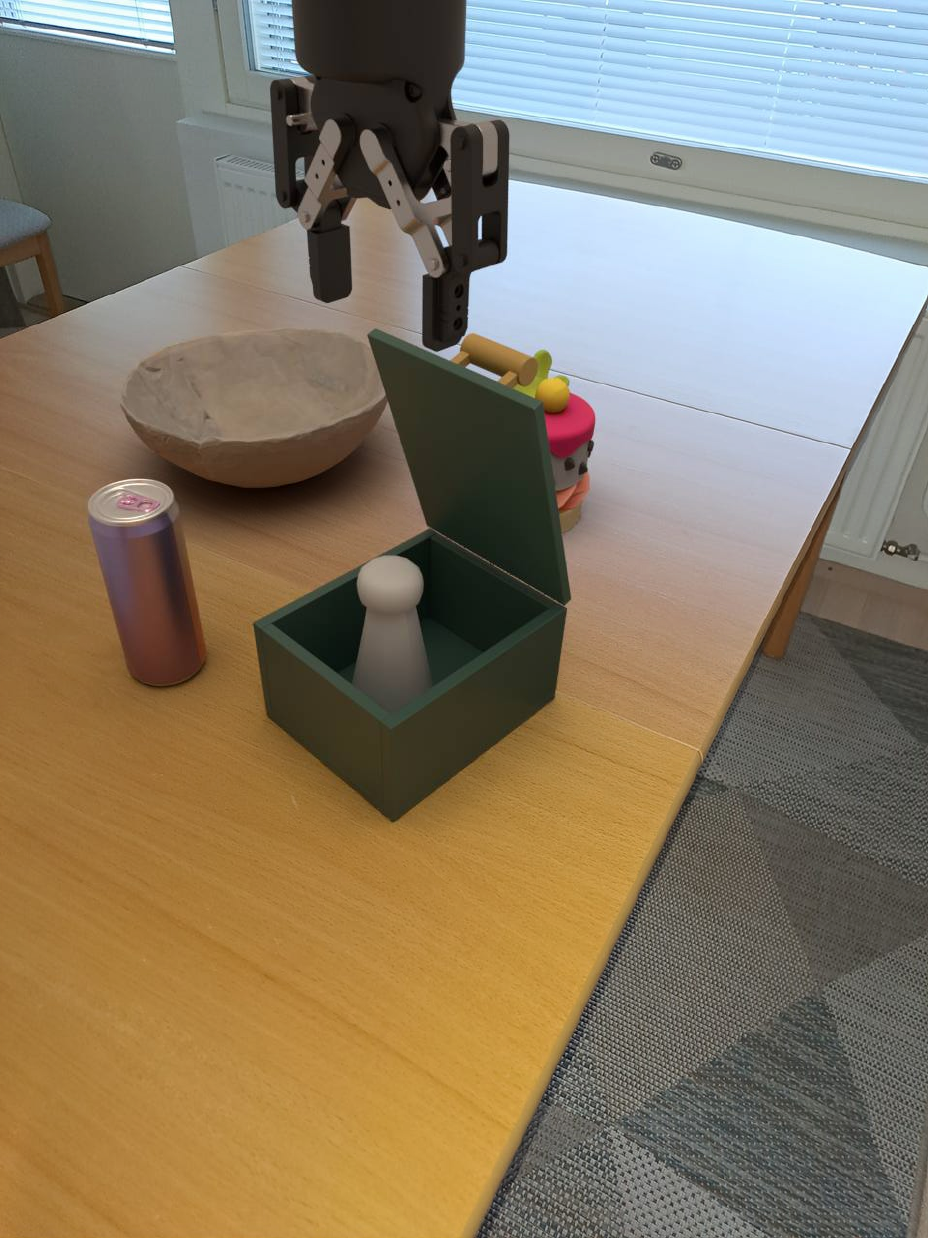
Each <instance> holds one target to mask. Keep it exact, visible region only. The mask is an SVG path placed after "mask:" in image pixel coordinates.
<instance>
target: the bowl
mask: <svg viewBox="0 0 928 1238" xmlns="http://www.w3.org/2000/svg"><path fill="white" fill-rule="evenodd" d="M118 402H119V405H120V408H121V410H122V412H123V414H124V415H125V419H126V420H127V423H129V425H130V427H131V428H132V430H133V431H134V433H135V434H136V435H137V437H138V438H139V439H140V440H141V442H142V443H144V444H145V445H146V446H147V447H149V449H151V450H152V451H154V452H155V453H156V454H158V455H159V456H160V457H161V458H163V459H165V460H166V461H168V462H170V463H172V464H173V465H175V466H177V467H179V468H181V469H183V470H186V471H188V472H190V473H192V474H194V475H196V476H198V477H201V478H203V479H205V480H208V481H213V482H216V483H221V484H224V485H230V486H234V487H239V488H246V489H250V488H251V489H265V488H277V487H281V486H286V485H289V484H295V483H298V482H303V481H305V480H309V479H310V478H313V477H316V476H318V475H320V474H322V473H324V472H326V471H327V470H329V469H331V468H333V467H334V466H336V465H338V464H339V463H340V462H342V461H344V460H345V459H346V458H347V457H348V456H349V455H351V454H352V453H353V452H354V451H355V450H357V448H358V447H359V446H360V445H361V444H362V443H363V442H364V440H365V439H366V438H367V437H368V435H369V434H370V433H371V432H372V431H373V429H374V428H375V427H376V425H377V424H378V422H379V420H380V419H381V417H382V416H383V413H384V411H385V410H386V408H387V406H388V405H387V404H388V400H387V397H386V394H385V390H384V387H383V384H382V381H381V378H380V374H379V371H378V368H377V365H376V362H375V358H374V355H373V352H372V349H371V346H370V343H369V341H366V340H363V339H360V338H358V337H357V336H354V335H351V334H348V333H345V332H342V331H328V330H326V329H324V328H315V327H314V328H311V329H309V330H308V329H307V328H303V327H297V326H285V327H279V328H271V329H269V328H267V329H264V328H263V329H261V328H260V329H247V330H238V331H237V330H236V331H230V332H224V333H217V334H211V335H203V336H199V337H193V338H188V339H185V340H181V341H179V342H176V343H173V344H170V345H167V346H165V347H162V348H160V349H157V350H155V351H153V352H151V353H149V354H148V355H145V356H144V357H142V358H140V359H139V360H138V361H137V362H136V363H135V365H134V369H131V370H130V371H129V372H128V373H126V375H125V377H124V378H123V380H122V381H121V384H120V388H119V393H118Z"/></svg>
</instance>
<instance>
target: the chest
mask: <svg viewBox="0 0 928 1238" xmlns="http://www.w3.org/2000/svg"><path fill="white" fill-rule="evenodd" d="M381 556H399V557H403V558H407V559H408V560H410V561H411V562H412V563H414V564H415V565H416V566H418V567H419V569H420V571H421V574H422V577H423V581H424V587H423V593H422V596H421V599H420V601H419V603H418V604H417V605H416V610H417V614H418V619H419V623H420V628H421V632H422V637H423V642H424V646H425V651H426V655H427V660H428V664H429V669H430V673H431V678H432V683H433V687H432V688H431V689H429V690H428V691H426V692H425V693H423V694H422V695H420V696H419V697H417V698H416V699H414V700H413V701H411V702H410V703H408V704H407V705H405V706H404V707H402V708H401V709H399V710H398V711H396V712H395V713H394V714H392V715H391V714H390V713H389V712H388V711H386V710H385V709H384V708H382V707H381V706H380V705H378V704H377V703H376V702H374V701H373V700H372V699H370V698H369V697H368V696H366V695H365V694H364V693H362V692H361V691H360V690H359V689H357V688H356V687H355V686H353V685H352V682H353V677H354V672H355V667H356V662H357V657H358V652H359V647H360V642H361V637H362V632H363V627H364V622H365V616H366V610H367V607H366V606H364V605H363V604H362V603H361V601H360V597H359V594H358V590H357V579H358V575H359V572H360V570H361V567H363V566H364V565H365V564H367V563H368V562H370V561H371V560H372V559H374V558H378V557H381ZM372 559H369V560H368V561H366V562H364V563H362V564H360V565H359V566H356V567H355V568H353V569H351V570H349V571H347V572H345V573H344V574H341V575H339V576H338V577H336V578H334V579H332V580H330V581H328V582H326V583H325V584H323V585H320V586H319V587H316V588H314V589H313V590H312V591H310V592H308V593H306V594H304V595H302V596H300V597H299V598H296V599H295V600H293V601H291V602H289V603H287V604H286V605H284V606H281V607H280V608H278V609H276V610H274V611H272V612H270V613H268V614H267V615H265V616H263V617H261V618H259V619H258V620H255V621H253V622H252V626H253V632H254V639H255V647H256V652H257V659H258V667H259V674H260V681H261V687H262V693H263V702H264V707H265V715H266V716H267V717H268V718H269V719H271V720H272V721H273V722H274V723H275V724H276V725H278V726H279V727H280V728H281V729H282V730H283V731H284V732H286V733H287V734H288V735H289V736H291V737H292V738H293V739H294V740H295V741H296V742H298V743H299V744H300V745H301V746H302V747H303V748H305V749H306V750H307V751H308V752H309V753H311V754H312V755H313V756H314V757H315V758H316V759H318V760H319V761H320V763H322V764H324V765H325V766H326V767H327V768H328V769H329V770H331V771H332V772H333V774H335V775H337V776H338V777H339V778H340V779H341V780H342V781H343V782H345V783H346V784H347V785H348V786H349V787H351V788H352V789H353V790H354V791H355V792H357V793H358V794H359V795H360V796H361V797H362V798H364V799H365V801H367V802H368V803H370V804H371V805H372V806H373V807H374V808H376V809H377V810H378V811H379V812H380V813H381V814H382V815H384V816H385V817H386V818H387V819H388V820H389V821H390V822H392V823H395V822H396V821H397V820H398V819H400V818H401V817H402V816H404V815H405V814H406V813H407V812H409V811H410V810H411V809H413V808H414V807H416V806H417V805H418V804H420V802H422V801H423V800H424V799H426V798H427V797H428V796H430V795H431V794H432V793H433V792H435V791H436V790H437V789H439V788H440V787H442V786H443V785H444V784H445V783H447V782H448V781H449V780H451V778H453V777H454V776H456V775H457V774H458V773H460V772H461V771H462V770H463V769H464V768H466V767H468V766H469V765H470V764H471V763H473V762H474V761H475V760H476V759H478V758H479V757H480V756H482V755H483V754H485V753H486V752H487V751H488V750H489V749H491V748H492V747H493V746H495V745H496V744H497V743H499V742H500V741H501V740H503V739H504V738H505V737H507V736H508V735H510V733H512V732H513V731H514V730H516V729H517V728H518V727H519V726H521V725H522V724H524V722H526V721H527V720H529V719H530V718H531V717H532V716H534V715H535V714H536V713H538V712H539V711H540V710H542V709H543V708H544V707H546V706H547V705H548V704H550V703H551V702H552V701H553V700H554V699H555V698H556V691H557V686H558V678H559V672H560V665H561V657H562V650H563V641H564V636H565V635H564V634H565V629H566V620H567V612H568V607H567V606H566V605H565V606H564V605H562V604H560V603H559V602H557V601H555V600H553V599H552V598H550V597H548V596H547V595H545V594H543V593H541V592H540V591H538V590H536V589H534V588H533V587H531V586H529V585H528V584H526V583H524V582H522V581H521V580H519V579H517V578H516V577H514V576H512V575H510V574H509V573H507V572H505V571H504V570H502V569H500V568H498V567H497V566H495V565H493V564H492V563H490V562H488V561H486V560H485V559H483V558H481V557H480V556H478V555H476V554H474V553H473V552H471V551H469V550H468V549H466V548H464V547H462V546H461V545H459V544H457V543H456V542H454V541H452V540H450V539H449V538H447V537H445V536H444V535H442V534H440V533H438V532H437V531H435V530H433V529H432V528H430V527H428V529H426V530H424V531H422V532H420V533H418V534H416V535H414V536H413V537H411V538H409V539H407V540H405V541H403V542H401V543H400V544H397V545H396V546H393V547H392V548H390V549H388V550H386V551H385V552H383V553H381V554H379V555H377V556H375V557H373V558H372Z"/></svg>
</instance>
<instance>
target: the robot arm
mask: <svg viewBox="0 0 928 1238" xmlns="http://www.w3.org/2000/svg"><path fill="white" fill-rule="evenodd" d="M291 12H292V13H291V15H292V29H293V43H294V44H293V45H294V55H295V60H296V62H297V64H298V65H299V67H300V68H301V69H302V70H304V71H305V72H307V73H308V74H310V75H304V76H295V77H287V78H279V79H273V80H272V81H271V83H270V86H269V93H270V94H269V96H270V98H269V99H270V112H271V113H270V115H271V117H270V118H271V132H272V135H271V136H272V150H273V151H272V153H273V169H274V171H273V172H274V187H275V198H276V200H277V203H278V205H279V206H280V207H281V208H282V209H291V208H292V210H294V212H296V213H297V217H298V221H299V223H300V225H301V227H302V228H303V229H304V230H306V237H307V239H306V240H307V253H308V264H309V277H310V281H311V284H312V294H313V296H314V298H315V299H316V300H318V301H320V302H323V303H324V304H330V303H333V302H336V301H339V300H343V299H346V298H348V297H349V296H350V295H351V294H352V291H353V273H352V251H351V250H352V249H351V248H352V246H351V226H350V225H347V224H344V223H342V222H344V221H347V219H348V217H349V215H350V214H351V211H352V209H353V207H354V205H355V204H356V201H357V200H358V199H366V198H367V199H369V200H370V201H371V202H373V203H374V204H376V206H378V207H381V208H383V209H386V210H391V212H392V214H393V216H394V219H395V221H396V223H397V226H398V228H399V229H400V230H401V231H402V232H403V233H405V234H407V235H409V236H410V237H411V238H412V240H413V242H414V244H415V247H416V249H417V252H418V254H419V256H420V258H421V259H420V260H422V263H423V265H424V268H425V270H426V272H427V273H424V274H422V292H421V293H422V296H421V298H422V300H421V301H422V302H421V303H422V305H421V306H422V309H421V310H422V311H421V325H422V326H421V342H422V346H423V347H424V348H426V349H428V350H430V351H433V352H436V353H439V352H441V351H444V350H446V349H450V348H451V347H454V346H456V345H458V344H459V343H461V340H462V338H464V337H466V336H465V335H466V333H467V331H468V328H469V304H470V303H469V302H470V280H471V279H470V278H471V274H472V273H473V272H476V271H479V270H482V269H486V268H488V267H491V266H497V265H499V264H502V263H504V262H505V261H506V259H507V256H508V240H509V239H508V238H509V237H508V236H509V235H508V233H509V231H508V230H509V184H510V181H509V179H510V130H509V128H508V125H507V124H506V122H504V120H502V119H493V120H483V121H478V122H470V121H463V120H459V119H458V118H457V116H456V112H455V108H454V104H453V97H452V90H453V89H452V88H453V86H454V85H453V84H454V82H455V80H456V78H457V76H458V74H459V73H460V72H461V71H462V69H463V67H464V64H465V60H466V29H467V28H466V25H467V0H291ZM302 158H303V169H304V178H301V179H300V178H299V179H297V171H296V170H297V169H296V165H297V162H298V160H299V159H302ZM431 189H432V191H433V194H434V196H435V199H436V200H434V201H430V202H426V203H424V202H421V201H423V200H424V199H425V198H426V197H427V196H428V194H429V193H430V192H431ZM480 218H481V238H479V222H480ZM436 226H437V227H439V228H440V229H441V231H442V233H443V235H444V237H445V240H446V242H447V244H448V245H447V246H444V245H443V242H442V239H441V237H440V235H439V233H438V230H437V228H436Z"/></svg>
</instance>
